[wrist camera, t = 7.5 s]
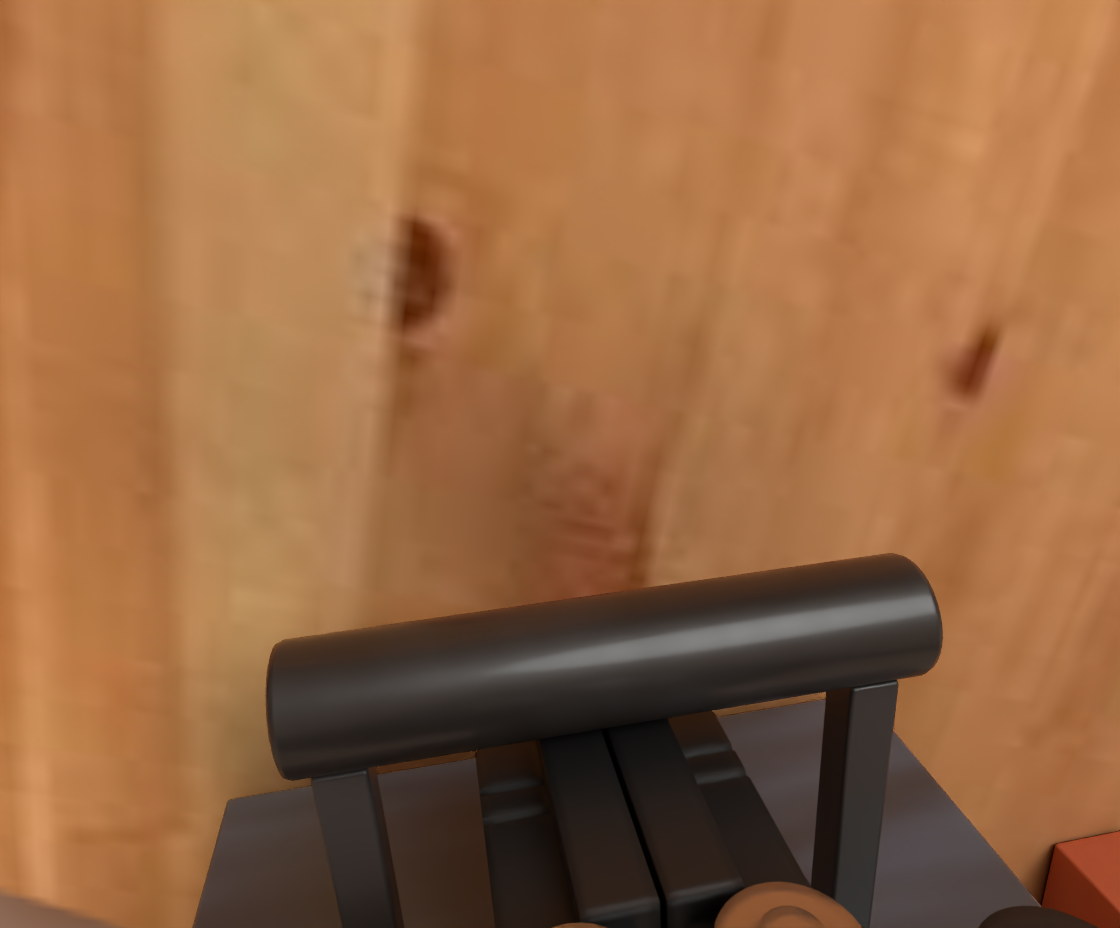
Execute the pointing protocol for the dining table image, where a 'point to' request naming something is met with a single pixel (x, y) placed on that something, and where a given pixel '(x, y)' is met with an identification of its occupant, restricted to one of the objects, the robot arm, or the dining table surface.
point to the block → (1086, 880)
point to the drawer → (596, 703)
